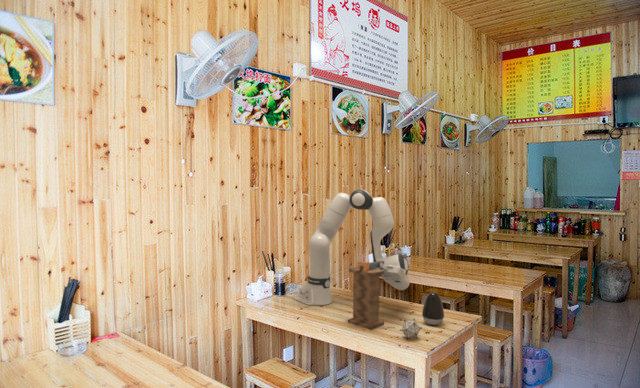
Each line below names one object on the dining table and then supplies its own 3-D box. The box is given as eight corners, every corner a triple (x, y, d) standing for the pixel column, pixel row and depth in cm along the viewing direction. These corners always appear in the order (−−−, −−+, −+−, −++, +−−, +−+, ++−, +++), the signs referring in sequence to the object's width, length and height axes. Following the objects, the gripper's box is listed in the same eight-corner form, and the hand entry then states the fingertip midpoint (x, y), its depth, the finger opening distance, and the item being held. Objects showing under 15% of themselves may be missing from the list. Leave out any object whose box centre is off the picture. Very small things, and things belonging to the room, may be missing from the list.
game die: (414, 347, 188) (422, 334, 181) (395, 339, 189) (403, 326, 183) (418, 331, 194) (425, 318, 188) (400, 323, 196) (407, 310, 190)
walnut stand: (347, 322, 207) (348, 269, 206) (360, 317, 215) (361, 265, 214) (371, 330, 198) (372, 273, 197) (383, 324, 205) (384, 270, 204)
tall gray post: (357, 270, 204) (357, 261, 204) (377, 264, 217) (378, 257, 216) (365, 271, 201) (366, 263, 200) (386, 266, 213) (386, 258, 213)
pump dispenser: (420, 325, 205) (421, 293, 204) (423, 318, 215) (424, 288, 214) (443, 328, 201) (443, 296, 201) (444, 321, 211) (445, 290, 210)
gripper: (375, 265, 228) (361, 255, 219) (409, 271, 215) (396, 260, 206) (371, 276, 226) (357, 266, 217) (405, 283, 213) (392, 273, 203)
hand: (376, 263), depth 211 cm, fingers closed on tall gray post, 2 cm apart
